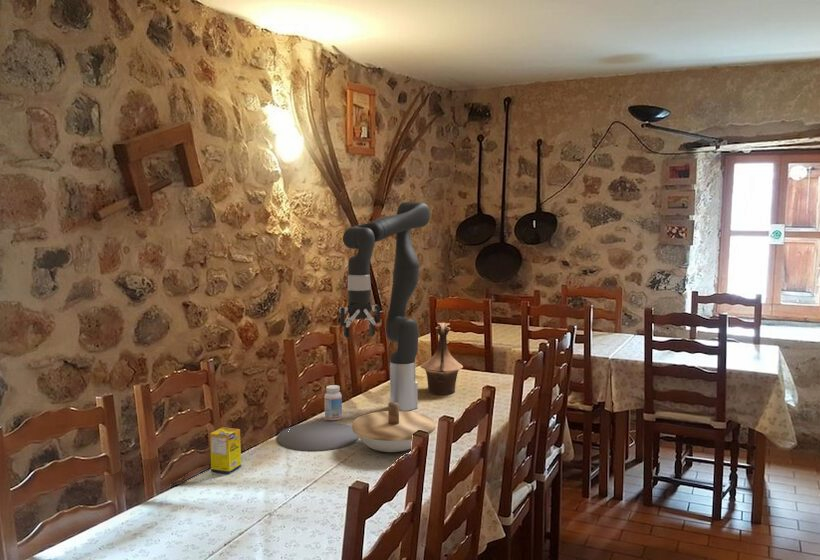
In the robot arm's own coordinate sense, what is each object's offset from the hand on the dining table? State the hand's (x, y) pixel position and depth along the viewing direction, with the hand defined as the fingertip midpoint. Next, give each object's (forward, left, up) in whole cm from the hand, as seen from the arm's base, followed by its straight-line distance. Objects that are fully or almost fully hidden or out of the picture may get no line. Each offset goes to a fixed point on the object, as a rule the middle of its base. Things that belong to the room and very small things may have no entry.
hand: (359, 337), depth 218 cm
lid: (-1, +24, -24) cm, 34 cm away
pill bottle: (+5, -12, -30) cm, 33 cm away
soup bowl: (0, +24, -30) cm, 39 cm away
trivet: (+16, +4, -30) cm, 34 cm away
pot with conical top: (-46, -25, -30) cm, 60 cm away
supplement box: (+48, +18, -30) cm, 60 cm away
